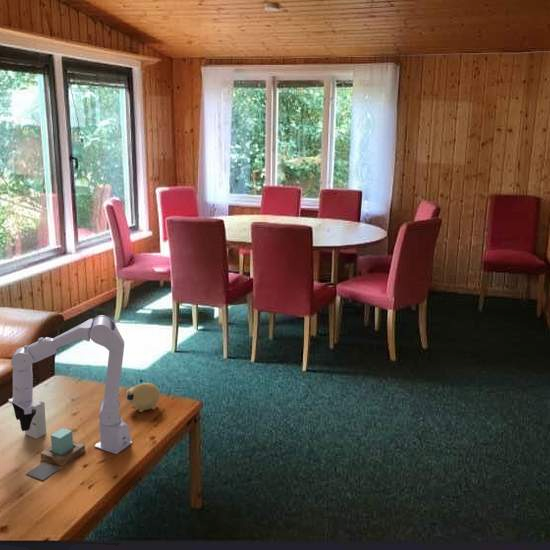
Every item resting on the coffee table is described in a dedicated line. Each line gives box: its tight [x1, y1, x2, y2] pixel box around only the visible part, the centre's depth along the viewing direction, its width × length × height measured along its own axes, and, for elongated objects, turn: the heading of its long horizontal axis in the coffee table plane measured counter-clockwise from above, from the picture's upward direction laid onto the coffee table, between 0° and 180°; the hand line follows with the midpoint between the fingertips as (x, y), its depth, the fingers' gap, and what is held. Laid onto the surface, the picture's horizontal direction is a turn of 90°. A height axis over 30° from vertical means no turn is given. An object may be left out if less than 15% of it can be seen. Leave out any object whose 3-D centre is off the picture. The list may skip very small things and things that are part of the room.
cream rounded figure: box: [125, 382, 161, 413], centre depth 218 cm, size 10×12×11 cm
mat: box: [25, 461, 61, 482], centre depth 181 cm, size 7×7×1 cm
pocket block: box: [40, 440, 86, 468], centre depth 189 cm, size 9×10×2 cm
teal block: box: [50, 427, 74, 456], centre depth 189 cm, size 4×5×8 cm
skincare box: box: [24, 397, 47, 440], centre depth 200 cm, size 6×4×12 cm
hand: (22, 424), depth 187 cm, fingers open, 7 cm apart
